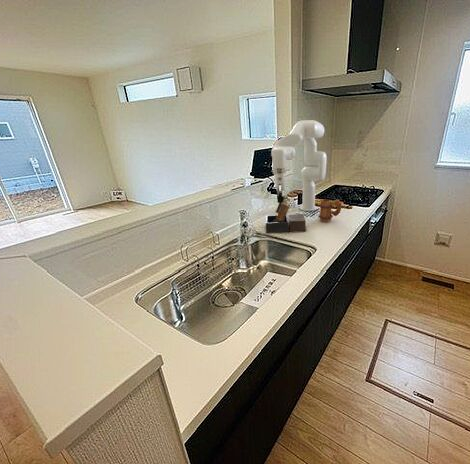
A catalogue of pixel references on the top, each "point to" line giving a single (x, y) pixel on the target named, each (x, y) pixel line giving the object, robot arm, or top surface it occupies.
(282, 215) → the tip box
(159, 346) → the top surface
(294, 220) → the stand
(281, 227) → the basket
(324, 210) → the mug
